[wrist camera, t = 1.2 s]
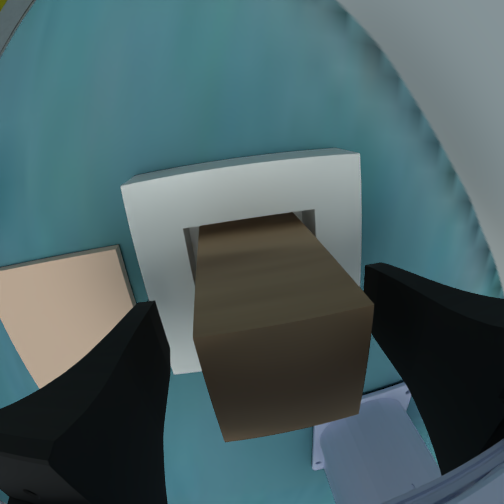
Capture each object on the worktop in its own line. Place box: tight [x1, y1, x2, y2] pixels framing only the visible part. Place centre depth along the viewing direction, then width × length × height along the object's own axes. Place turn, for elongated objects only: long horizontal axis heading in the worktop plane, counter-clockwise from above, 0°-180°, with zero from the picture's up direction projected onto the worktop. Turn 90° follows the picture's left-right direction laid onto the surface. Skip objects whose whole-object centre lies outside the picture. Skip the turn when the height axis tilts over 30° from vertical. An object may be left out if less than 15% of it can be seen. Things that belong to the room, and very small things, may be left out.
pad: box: [0, 245, 136, 389], centre depth 15 cm, size 9×9×1 cm
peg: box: [193, 212, 374, 442], centre depth 11 cm, size 4×4×8 cm
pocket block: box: [121, 148, 362, 374], centre depth 14 cm, size 9×9×2 cm
